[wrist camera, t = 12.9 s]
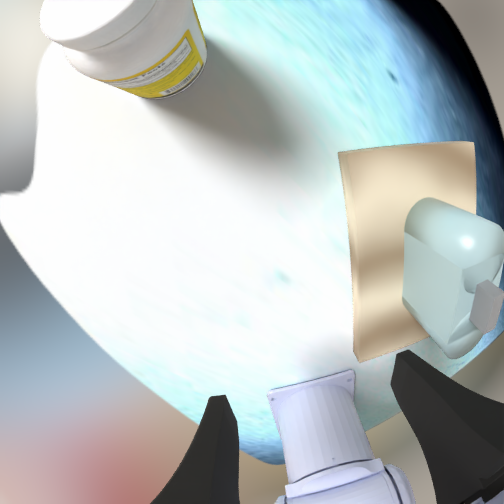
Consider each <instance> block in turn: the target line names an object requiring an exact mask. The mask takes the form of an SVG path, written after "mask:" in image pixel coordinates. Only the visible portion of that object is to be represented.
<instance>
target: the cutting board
mask: <svg viewBox="0 0 504 504" xmlns="http://www.w3.org/2000/svg"><path fill="white" fill-rule="evenodd" d="M338 157H339V163H340V169H341V176H342V183H343V190H344V198H345V206H346V214H347V223H348V234H349V245H350V257H351V272H352V292H353V334H354V343H353V352H354V354H355V356H356V357H357V359H358V361H359V363H361V362H364V361H367V360H370V359H373V358H376V357H379V356H382V355H384V354H387V353H390V352H393V351H395V350H398V349H401V348H403V347H406V346H408V345H411V344H413V343H416V342H418V341H421V340H423V339H425V338H428V337H430V335H429V334H428V333H427V332H426V331H425V329H424V328H423V327H422V326H421V325H420V324H419V323H418V321H417V320H416V319H415V318H414V317H413V316H412V315H411V313H410V312H409V311H408V310H407V309H406V308H405V307H404V305H403V302H402V291H403V274H404V227H405V221H406V218H407V215H408V213H409V211H410V210H411V208H412V207H413V206H414V205H415V203H417V202H418V201H419V200H421V199H423V198H426V197H432V198H436V199H438V200H441V201H443V202H446V203H449V204H451V205H454V206H456V207H458V208H461V209H463V210H466V211H468V212H470V213H473V214H475V215H476V166H475V151H474V142H466V141H448V142H430V143H416V144H404V145H393V146H383V147H374V148H366V149H358V150H351V151H344V152H338Z"/></svg>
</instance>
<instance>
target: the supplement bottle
mask: <svg viewBox="0 0 504 504" xmlns="http://www.w3.org/2000/svg"><path fill="white" fill-rule="evenodd" d="M40 25H41V29H42V31H43V33H44V34H45V35H46V37H48V38H49V39H50V40H52V41H54V42H56V43H59V44H61V45H62V46H63V48H64V53H65V55H66V58H67V60H68V61H69V63H70V64H71V65H72V66H73V67H74V68H75V69H76V70H77V71H79V72H80V73H82V74H84V75H86V76H88V77H90V78H93V79H96V80H99V81H101V82H104V83H106V84H109V85H112V86H114V87H117V88H119V89H122V90H124V91H127V92H129V93H132V94H134V95H137V96H140V97H143V98H148V99H162V98H167V97H171V96H174V95H176V94H178V93H180V92H182V91H184V90H185V89H187V88H188V87H189V86H190V85H192V84H193V83H194V82H195V81H196V79H197V78H198V77H199V75H200V74H201V72H202V70H203V68H204V66H205V63H206V59H207V45H206V41H205V38H204V34H203V31H202V28H201V25H200V22H199V19H198V16H197V13H196V10H195V7H194V4H193V0H45V1H44V3H43V6H42V9H41V15H40Z"/></svg>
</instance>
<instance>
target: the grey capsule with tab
mask: <svg viewBox="0 0 504 504" xmlns="http://www.w3.org/2000/svg"><path fill="white" fill-rule="evenodd" d="M503 262H504V232H503V230H502V228H501V227H500V226H499V225H497V224H495V223H493V222H491V221H488V220H486V219H484V218H482V217H480V216H477V215H475V214H473V213H470V212H468V211H466V210H463V209H461V208H458V207H456V206H454V205H451V204H449V203H446V202H443V201H441V200H438V199H436V198H432V197H426V198H423V199H421V200H419V201H418V202H417V203H415V205H414V206H413V207H412V208H411V210H410V211H409V213H408V215H407V218H406V221H405V227H404V274H403V291H402V302H403V305H404V307H405V308H406V309H407V310H408V311H409V312H410V313H411V315H412V316H413V317H414V318H415V319H416V320H417V321H418V323H419V324H420V325H421V326H422V327H423V328H424V329H425V331H426V332H427V333H428V334H429V335H430V336H431V338H432V339H433V340H434V341H435V342H436V343H437V345H438V346H439V347H440V348H441V349H442V351H443V352H444V353H445V354H446V356H447V357H448V358H450V359H457V358H460V357H462V356H464V355H465V354H467V353H468V352H469V351H470V350H472V349H473V348H474V347H475V346H476V344H477V343H478V342H479V341H480V339H481V338H482V336H483V335H484V334H486V333H488V332H490V331H491V330H493V329H494V328H495V326H496V323H497V320H498V316H499V313H500V310H501V306H502V303H503V299H504V291H502V290H501V289H500V288H498V287H499V282H500V278H501V273H502V267H503Z"/></svg>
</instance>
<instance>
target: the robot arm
mask: <svg viewBox="0 0 504 504" xmlns="http://www.w3.org/2000/svg"><path fill="white" fill-rule="evenodd" d="M354 384H355V373H354V371H353V370H348V371H345V372H341V373H338V374H335V375H331V376H328V377H324V378H320V379H316V380H313V381H309V382H305V383H300V384H296V385H292V386H287V387H283V388H278V389H273V390H270V391H268V392H267V397H268V400H269V404H270V407H271V410H272V413H273V416H274V419H275V423H276V426H277V429H278V432H279V435H280V438H281V440H282V445H283V451H284V457H285V463H286V468H287V475H288V481H289V485H285V490H286V495H283V496H279V497H278V499H277V501H276V502H275V503H274V504H416V503H415V498H414V494H413V490H412V488H411V485H410V483H409V480H408V479H407V477H406V475H405V473H404V472H403V471H402V470H401V469H400V468H399V467H396V466H394V465H392V464H387V465H385V466H383V463H382V460H381V458H377V459H375V456H374V454H373V451H372V449H371V446H370V444H369V441H368V438H367V436H366V433H365V431H364V428H363V426H362V423H361V421H360V418H359V416H358V413H357V411H356V409H355V406H354V404H353V400H354ZM391 387H392V389H393V392H394V395H395V397H396V400H397V402H398V404H399V406H400V408H401V410H402V411H403V413H404V415H405V417H406V418H407V420H408V422H409V424H410V426H411V428H412V429H413V431H414V433H415V435H416V437H417V438H418V441H419V443H420V445H421V447H422V450H423V453H424V455H425V458H426V461H427V464H428V467H429V471H430V474H431V477H432V481H433V486H434V489H435V495H436V501H437V504H504V403H500V402H497V401H494V400H492V399H489V398H486V397H484V396H482V395H480V394H477V393H475V392H473V391H471V390H469V389H467V388H465V387H463V386H462V385H460V384H458V383H457V382H455V381H453V380H452V379H450V378H449V377H447V376H446V375H444V374H443V373H441V372H440V371H438V370H437V369H435V368H434V367H432V366H431V365H430V364H428V363H427V362H425V361H424V360H423V359H421V358H420V357H419V356H417V355H416V354H414V353H413V352H412V351H410V350H406V351H403V352H400V353H398V354H397V355H396V360H395V365H394V370H393V375H392V380H391ZM238 478H239V436H238V426H237V420H236V418H235V416H234V413H233V411H232V409H231V407H230V404H229V402H228V400H227V397H226V395H220V396H211V397H210V398H209V400H208V403H207V406H206V409H205V412H204V415H203V417H202V420H201V422H200V425H199V428H198V430H197V432H196V434H195V436H194V439H193V441H192V443H191V445H190V447H189V449H188V451H187V453H186V454H185V456H184V458H183V460H182V462H181V463H180V465H179V467H178V468H177V470H176V471H175V473H174V474H173V476H172V478H171V479H170V480H169V482H168V483H167V484H166V486H165V487H164V488H163V490H162V491H161V492H160V493H159V495H158V496H157V497H156V498H155V499H154V500H153V501H152V502H151V503H150V504H240V501H239V490H238V489H239V488H238Z"/></svg>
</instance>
